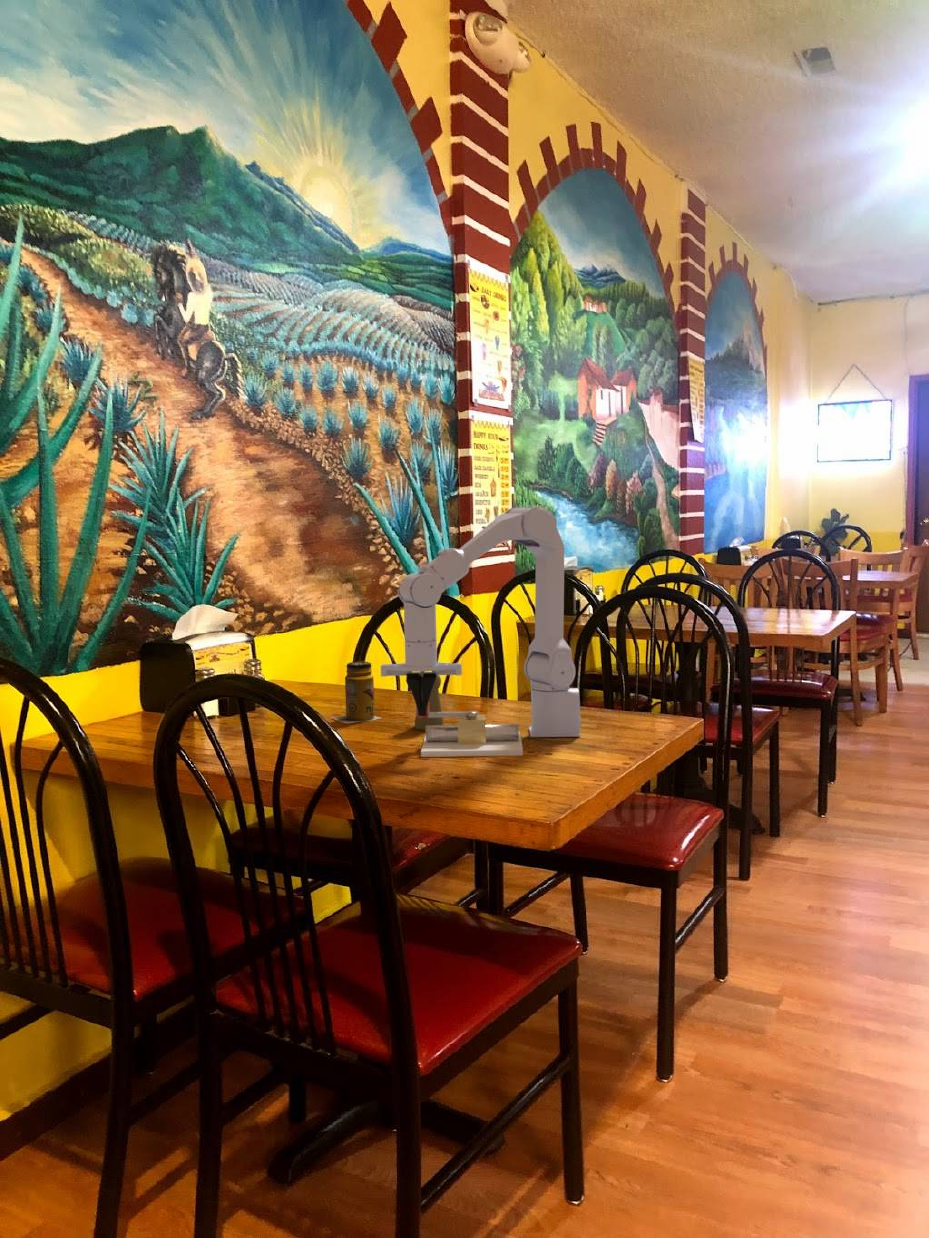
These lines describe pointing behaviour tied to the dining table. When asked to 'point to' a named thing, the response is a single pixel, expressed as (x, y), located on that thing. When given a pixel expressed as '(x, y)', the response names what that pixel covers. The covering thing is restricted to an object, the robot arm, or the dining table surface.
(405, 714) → the dining table surface
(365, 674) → the condiment
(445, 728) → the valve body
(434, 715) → the valve lever
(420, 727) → the olive tapered post
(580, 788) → the dining table surface
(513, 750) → the valve board
